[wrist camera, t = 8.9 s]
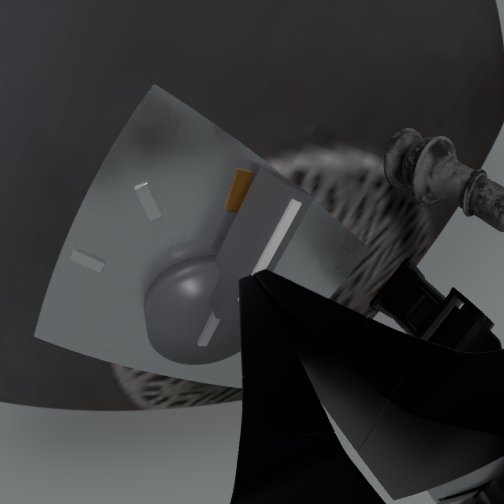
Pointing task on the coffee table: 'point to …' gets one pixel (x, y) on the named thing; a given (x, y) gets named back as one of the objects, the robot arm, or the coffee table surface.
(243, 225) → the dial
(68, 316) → the panel
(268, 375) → the robot arm
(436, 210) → the coffee table surface
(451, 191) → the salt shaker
